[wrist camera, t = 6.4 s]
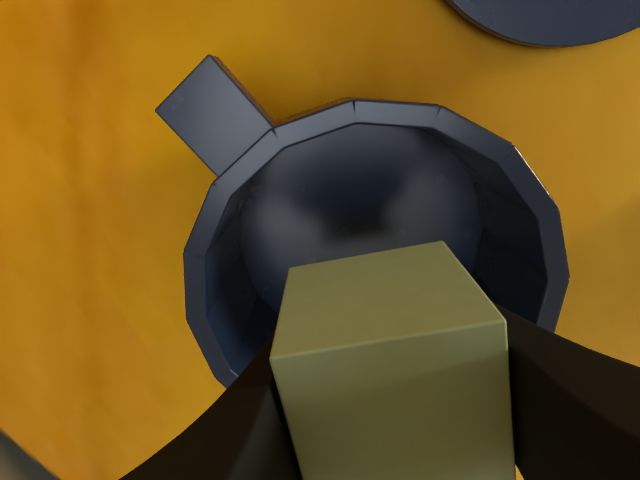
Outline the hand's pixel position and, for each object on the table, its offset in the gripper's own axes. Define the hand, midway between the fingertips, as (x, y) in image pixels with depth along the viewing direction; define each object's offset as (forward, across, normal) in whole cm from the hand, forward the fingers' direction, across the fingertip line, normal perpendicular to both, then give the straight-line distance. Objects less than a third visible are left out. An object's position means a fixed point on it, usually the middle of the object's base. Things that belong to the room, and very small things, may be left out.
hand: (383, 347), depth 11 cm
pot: (+9, 0, 0) cm, 9 cm away
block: (+1, 0, 0) cm, 1 cm away
